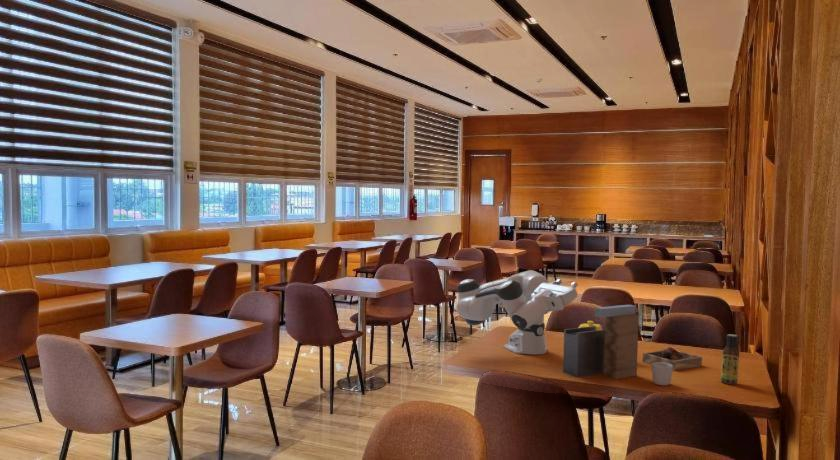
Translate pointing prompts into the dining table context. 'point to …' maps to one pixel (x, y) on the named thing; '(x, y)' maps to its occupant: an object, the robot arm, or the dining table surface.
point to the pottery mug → (667, 353)
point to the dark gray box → (583, 351)
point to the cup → (662, 373)
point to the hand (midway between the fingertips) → (567, 282)
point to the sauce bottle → (730, 361)
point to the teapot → (590, 323)
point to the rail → (615, 310)
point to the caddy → (686, 361)
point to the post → (621, 346)
